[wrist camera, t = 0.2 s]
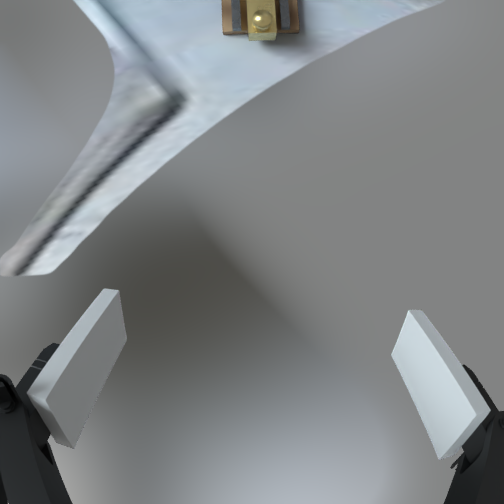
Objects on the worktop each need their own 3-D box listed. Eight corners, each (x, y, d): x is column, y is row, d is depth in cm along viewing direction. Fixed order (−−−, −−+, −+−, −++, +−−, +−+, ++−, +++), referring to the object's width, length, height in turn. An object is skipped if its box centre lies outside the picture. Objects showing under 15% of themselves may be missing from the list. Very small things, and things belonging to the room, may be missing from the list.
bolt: (246, -8, 27) (245, -26, 22) (271, -8, 27) (274, -27, 22) (248, 40, 29) (247, 27, 24) (275, 40, 29) (278, 26, 24)
